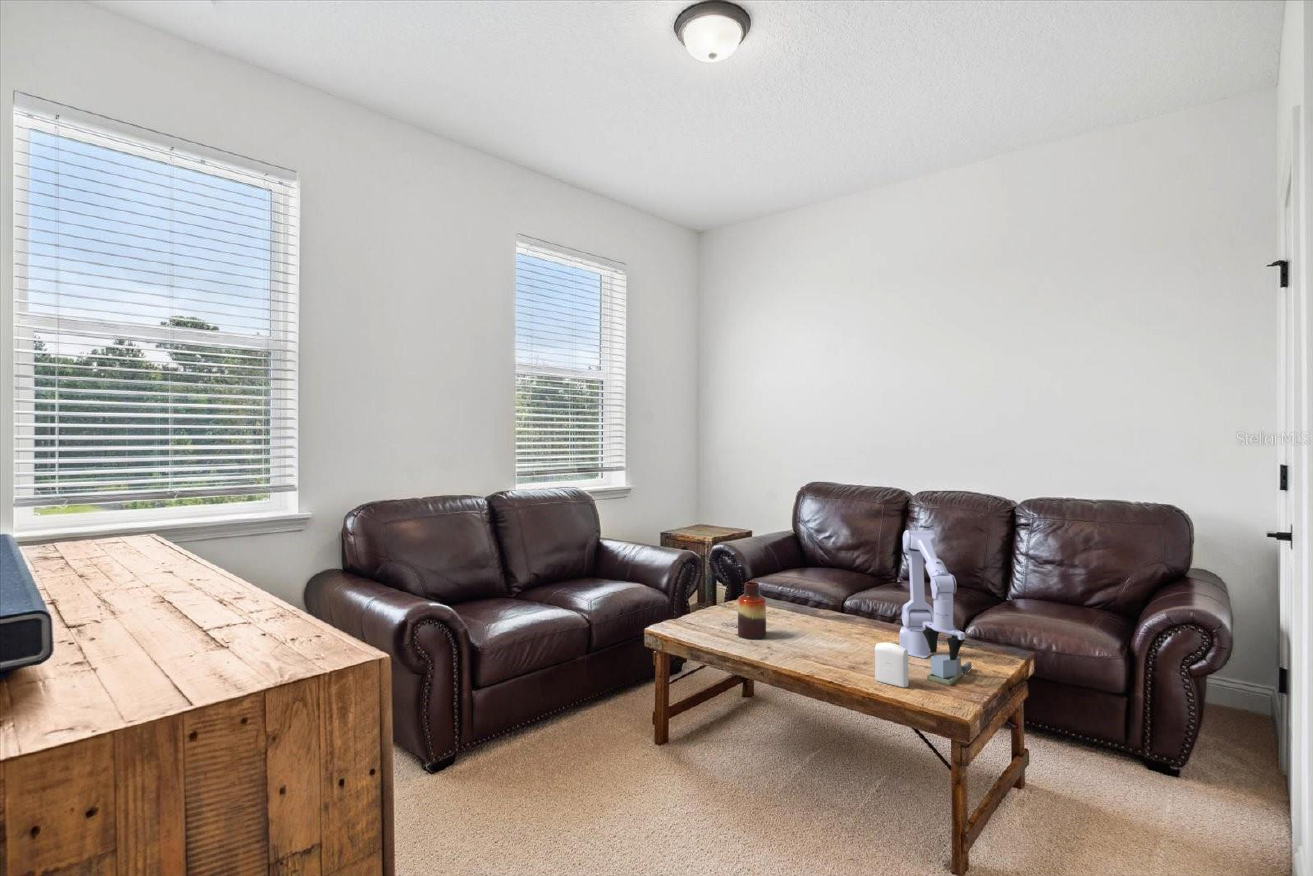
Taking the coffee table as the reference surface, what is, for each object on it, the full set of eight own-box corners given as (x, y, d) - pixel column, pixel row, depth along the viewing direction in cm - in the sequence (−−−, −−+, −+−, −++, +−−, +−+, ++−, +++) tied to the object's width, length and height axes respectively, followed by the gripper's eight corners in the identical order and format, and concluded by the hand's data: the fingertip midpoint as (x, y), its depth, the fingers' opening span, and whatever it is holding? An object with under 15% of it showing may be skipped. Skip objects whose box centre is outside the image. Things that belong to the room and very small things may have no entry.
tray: (927, 680, 208) (927, 675, 208) (939, 670, 217) (939, 666, 217) (950, 685, 204) (950, 681, 204) (962, 675, 212) (962, 671, 212)
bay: (939, 669, 218) (939, 661, 218) (946, 664, 223) (946, 656, 223) (965, 675, 213) (965, 667, 213) (971, 669, 218) (971, 662, 218)
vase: (765, 631, 260) (765, 580, 260) (767, 640, 249) (766, 586, 249) (737, 631, 261) (737, 579, 261) (738, 639, 250) (738, 586, 250)
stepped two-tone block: (931, 673, 210) (931, 656, 210) (951, 669, 214) (951, 652, 214) (943, 678, 206) (943, 660, 206) (963, 673, 210) (962, 656, 210)
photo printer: (872, 681, 208) (872, 641, 208) (878, 677, 211) (878, 638, 211) (904, 689, 201) (904, 649, 201) (910, 685, 204) (910, 645, 204)
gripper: (971, 617, 204) (971, 661, 204) (933, 606, 217) (933, 647, 217) (955, 620, 201) (955, 664, 201) (918, 609, 214) (918, 650, 214)
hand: (943, 656), depth 209 cm, fingers open, 7 cm apart
